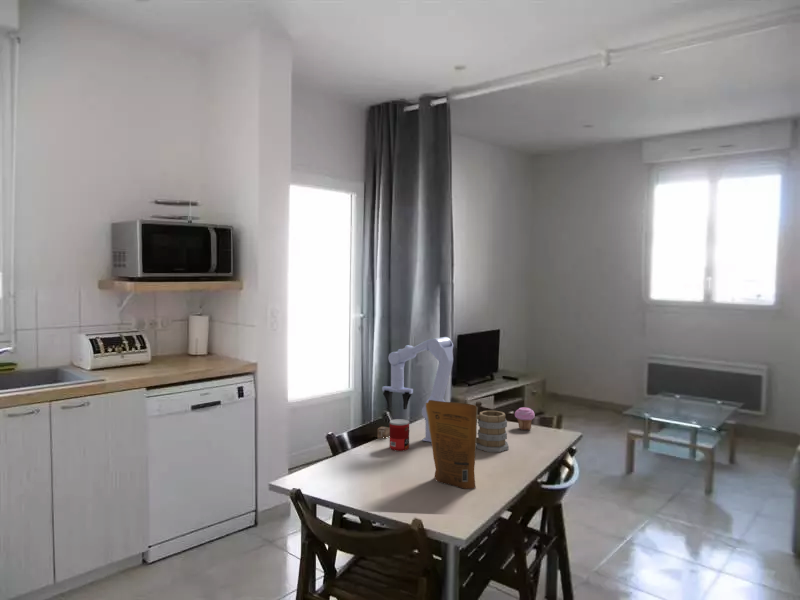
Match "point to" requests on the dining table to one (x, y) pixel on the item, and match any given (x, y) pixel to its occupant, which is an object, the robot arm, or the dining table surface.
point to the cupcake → (524, 418)
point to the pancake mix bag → (453, 441)
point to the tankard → (492, 431)
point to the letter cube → (383, 432)
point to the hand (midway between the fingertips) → (397, 408)
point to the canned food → (399, 434)
